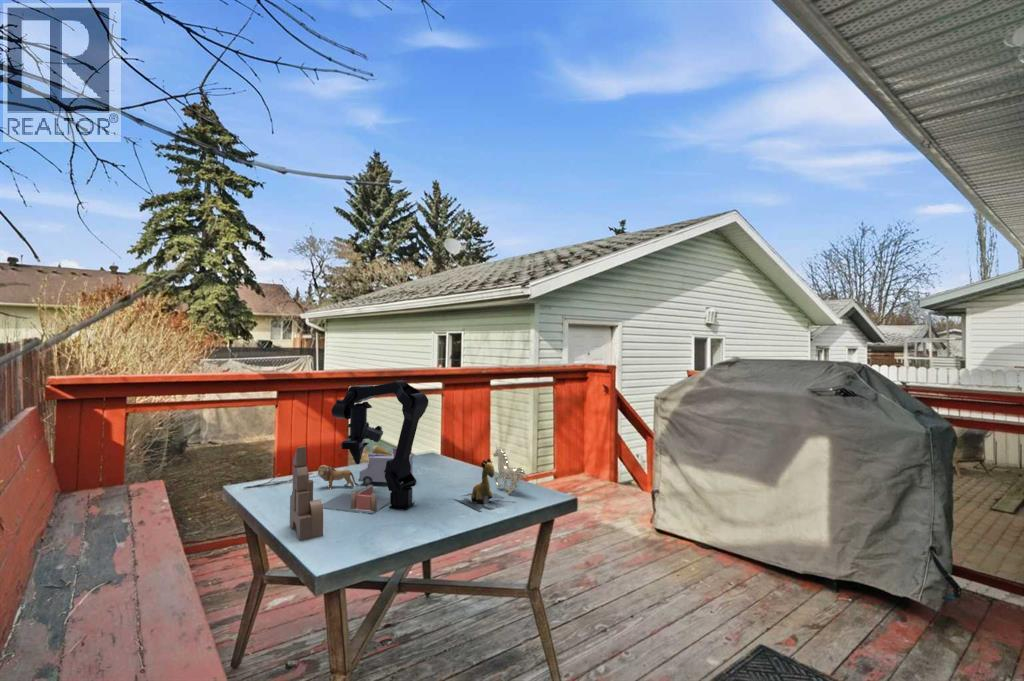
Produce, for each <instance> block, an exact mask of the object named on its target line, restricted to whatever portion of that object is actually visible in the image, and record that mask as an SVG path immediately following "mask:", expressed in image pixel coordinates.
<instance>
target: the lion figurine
mask: <svg viewBox="0 0 1024 681" xmlns="http://www.w3.org/2000/svg"><path fill="white" fill-rule="evenodd" d="M317 475H318V477H319V478H321V479H323V481H324V482H328V486H329V487H328V486H327V489H328V488H329V489H328V490H331V489H332V488H333V482H334V481H341V480H343V479H344V480H345V481H346V483H345V484H344V487H347V486H349V484H350V486H349V488H350V489H353V488H354V485H355V486H359V483H357V482H356V480H355V476H354V474H353V472H352V471H351V470H349V469H343V470H337V469H335V468H334V467H332V466H329V465H328V464H327V465H326V464H321V465H320V466H319V467H318V470H317ZM352 487H353V488H352ZM330 488H331V489H330Z"/></svg>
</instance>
